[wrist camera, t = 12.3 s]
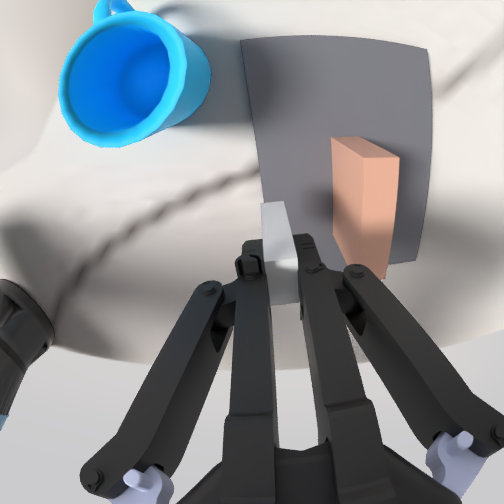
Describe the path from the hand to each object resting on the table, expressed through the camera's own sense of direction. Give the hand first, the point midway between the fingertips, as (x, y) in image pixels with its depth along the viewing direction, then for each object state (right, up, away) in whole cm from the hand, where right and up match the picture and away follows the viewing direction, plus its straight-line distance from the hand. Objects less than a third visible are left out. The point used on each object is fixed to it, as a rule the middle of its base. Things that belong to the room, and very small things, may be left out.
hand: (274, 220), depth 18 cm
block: (+7, +3, +4) cm, 8 cm away
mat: (+7, +6, +3) cm, 9 cm away
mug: (-9, +13, -1) cm, 16 cm away
